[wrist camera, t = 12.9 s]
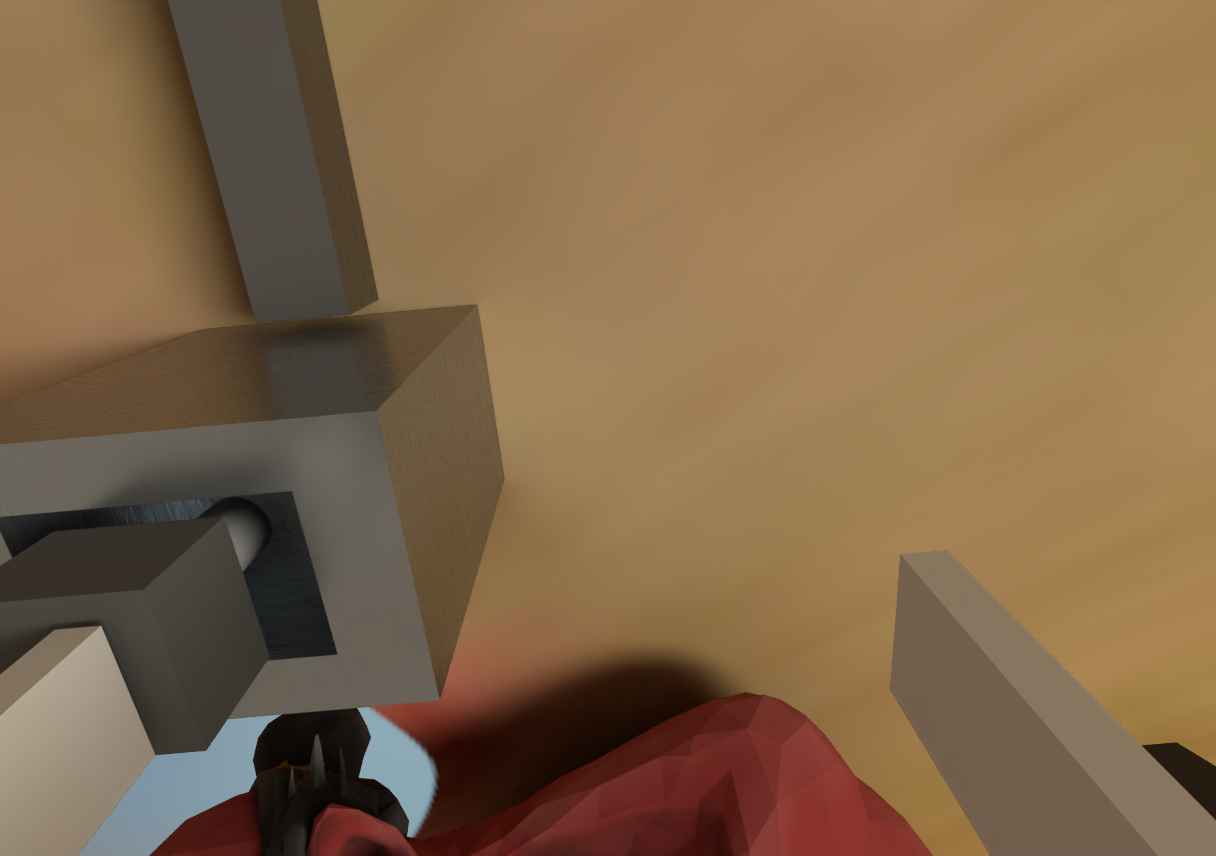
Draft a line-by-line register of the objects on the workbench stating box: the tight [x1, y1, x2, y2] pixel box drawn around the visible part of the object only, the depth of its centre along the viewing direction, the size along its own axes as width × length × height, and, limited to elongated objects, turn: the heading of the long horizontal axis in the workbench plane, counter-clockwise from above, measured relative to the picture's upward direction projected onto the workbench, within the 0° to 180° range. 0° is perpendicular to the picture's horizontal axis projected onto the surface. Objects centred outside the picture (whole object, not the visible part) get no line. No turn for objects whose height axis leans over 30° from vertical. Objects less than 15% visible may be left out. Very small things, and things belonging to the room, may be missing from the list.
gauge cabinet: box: [0, 305, 504, 719], centre depth 19 cm, size 7×10×12 cm
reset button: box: [0, 497, 272, 755], centre depth 14 cm, size 3×3×6 cm
